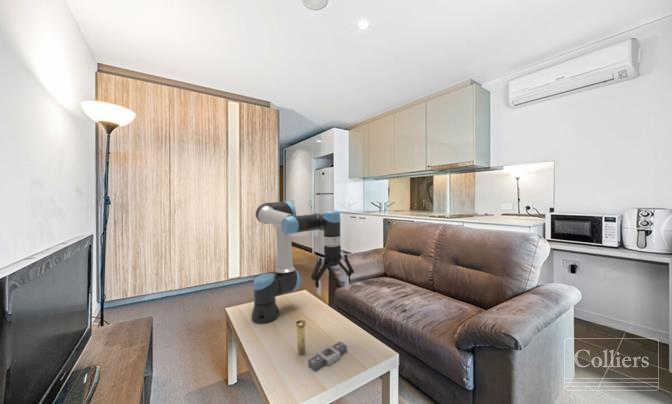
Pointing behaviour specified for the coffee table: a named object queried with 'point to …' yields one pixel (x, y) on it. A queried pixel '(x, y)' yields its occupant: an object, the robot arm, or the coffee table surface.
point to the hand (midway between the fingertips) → (333, 291)
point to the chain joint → (322, 360)
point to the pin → (301, 336)
